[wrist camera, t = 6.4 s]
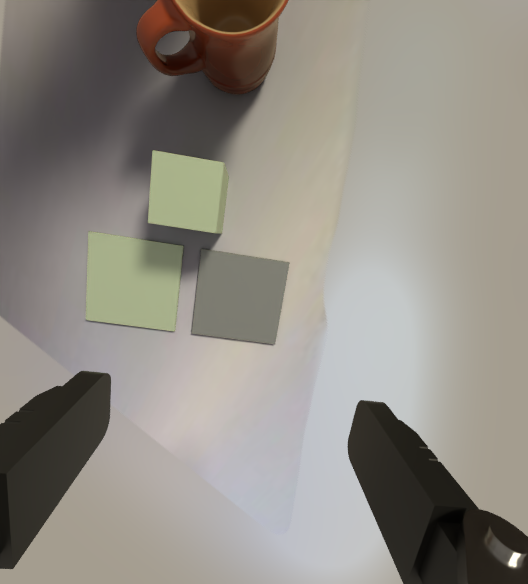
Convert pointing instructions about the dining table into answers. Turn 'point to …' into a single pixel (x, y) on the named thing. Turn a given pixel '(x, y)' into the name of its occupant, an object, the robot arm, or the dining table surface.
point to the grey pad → (239, 296)
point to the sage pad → (133, 281)
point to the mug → (215, 39)
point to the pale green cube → (187, 192)
